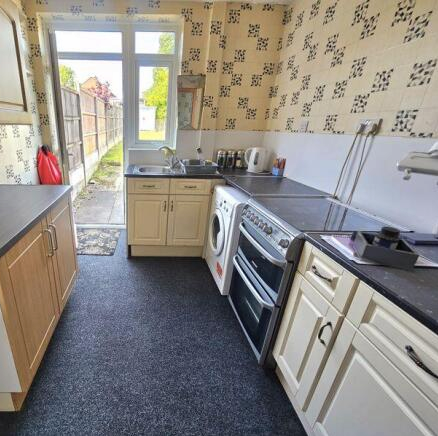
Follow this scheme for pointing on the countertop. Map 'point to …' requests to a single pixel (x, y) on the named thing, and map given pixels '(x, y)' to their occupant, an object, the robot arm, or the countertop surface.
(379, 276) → the countertop surface
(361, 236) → the dark grey square box
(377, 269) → the countertop surface
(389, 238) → the pill bottle
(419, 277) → the countertop surface
